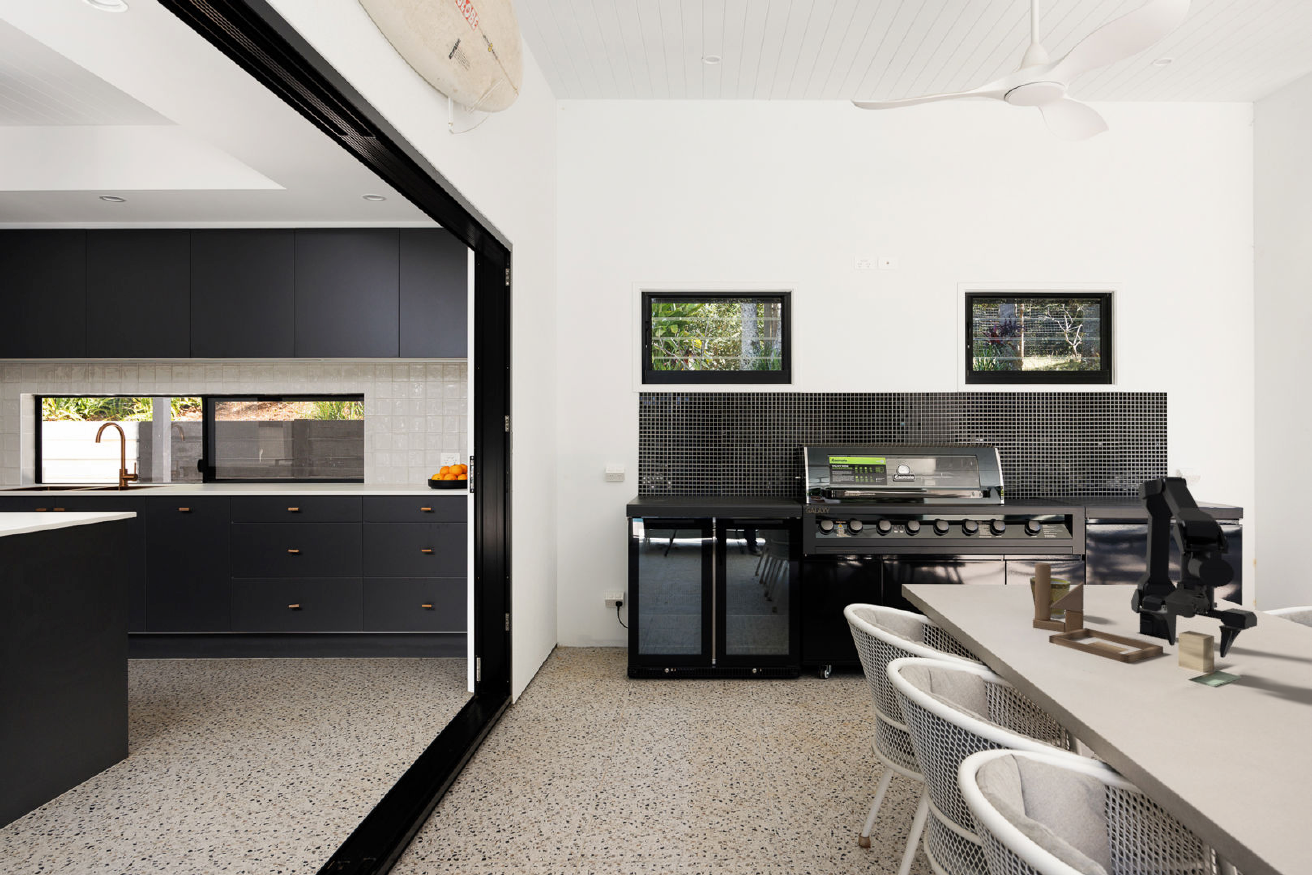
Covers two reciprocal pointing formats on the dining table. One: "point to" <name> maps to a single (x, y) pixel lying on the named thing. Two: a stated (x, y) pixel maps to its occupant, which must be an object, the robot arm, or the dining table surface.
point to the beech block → (1196, 651)
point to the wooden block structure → (1056, 603)
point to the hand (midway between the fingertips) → (1196, 651)
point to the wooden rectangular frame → (1106, 645)
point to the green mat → (1216, 678)
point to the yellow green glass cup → (1054, 593)
